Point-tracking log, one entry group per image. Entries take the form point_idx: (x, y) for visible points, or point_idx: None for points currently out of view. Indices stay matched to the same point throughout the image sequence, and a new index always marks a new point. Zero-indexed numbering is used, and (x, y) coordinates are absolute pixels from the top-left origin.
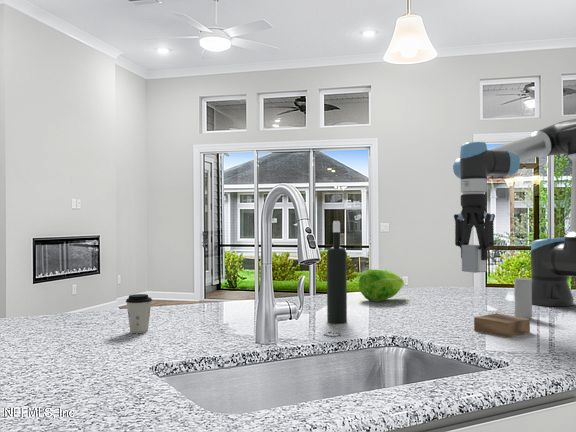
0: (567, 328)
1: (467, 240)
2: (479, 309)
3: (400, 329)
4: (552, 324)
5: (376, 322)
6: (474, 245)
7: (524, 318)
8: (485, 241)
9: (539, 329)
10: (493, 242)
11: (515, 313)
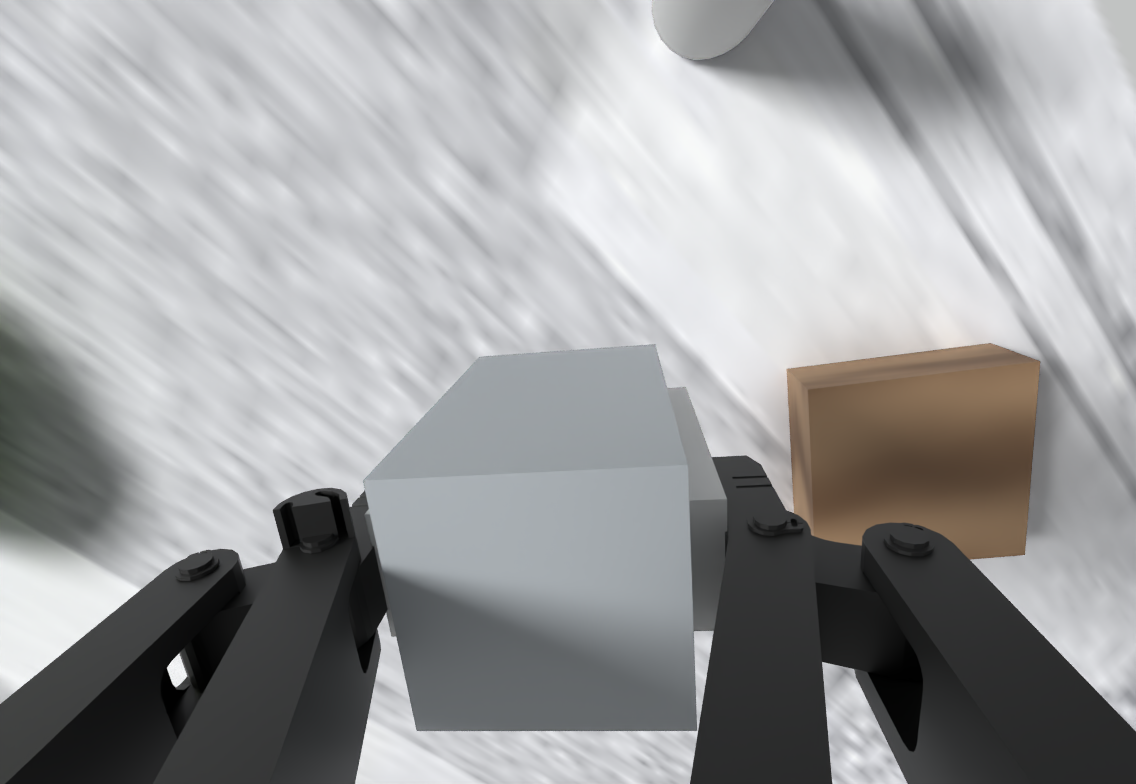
0: (1079, 37)
1: (341, 659)
2: (340, 34)
3: (616, 748)
4: (950, 13)
5: (458, 741)
6: (644, 696)
7: (1011, 377)
8: (902, 739)
9: (980, 228)
10: (987, 589)
11: (683, 52)
